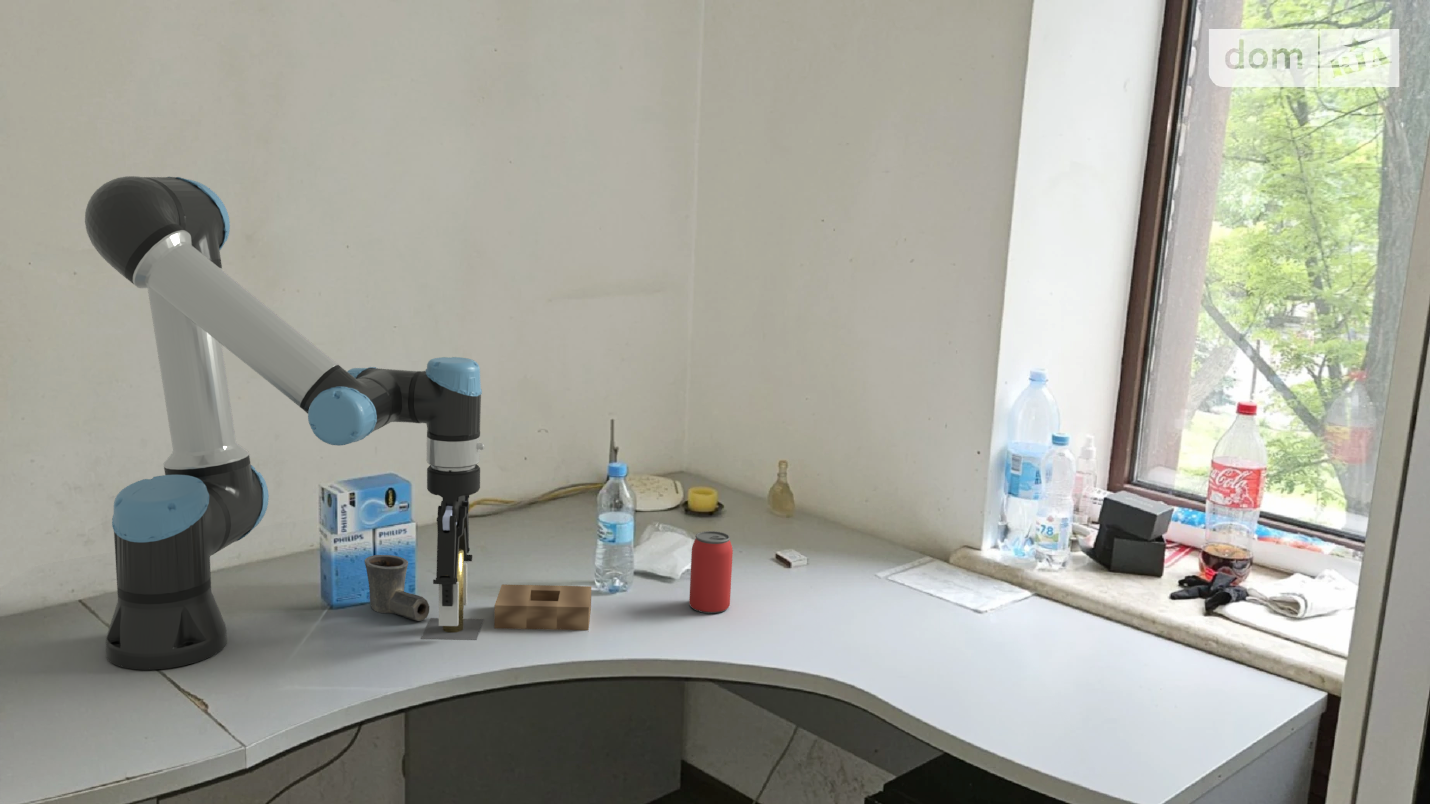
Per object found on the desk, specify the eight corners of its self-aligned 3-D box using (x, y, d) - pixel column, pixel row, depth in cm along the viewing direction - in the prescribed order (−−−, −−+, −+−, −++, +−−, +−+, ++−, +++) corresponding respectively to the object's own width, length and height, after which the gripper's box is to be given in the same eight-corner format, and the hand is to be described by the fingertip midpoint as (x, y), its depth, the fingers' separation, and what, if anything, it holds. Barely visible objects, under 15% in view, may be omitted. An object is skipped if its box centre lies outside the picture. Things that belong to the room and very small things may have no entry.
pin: (441, 632, 166) (441, 554, 164) (444, 624, 169) (444, 548, 167) (461, 632, 166) (461, 555, 164) (464, 625, 169) (465, 548, 167)
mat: (420, 641, 164) (420, 638, 164) (430, 620, 171) (430, 618, 171) (476, 642, 164) (476, 639, 164) (483, 621, 172) (483, 619, 172)
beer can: (729, 615, 179) (733, 543, 177) (688, 613, 179) (691, 541, 177) (729, 601, 186) (733, 531, 183) (690, 598, 186) (693, 528, 183)
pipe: (406, 630, 167) (406, 579, 166) (354, 608, 175) (354, 559, 174) (439, 619, 172) (439, 569, 171) (387, 598, 180) (387, 550, 178)
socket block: (494, 630, 169) (494, 605, 168) (501, 608, 178) (501, 584, 177) (588, 632, 170) (588, 607, 169) (590, 610, 179) (591, 586, 178)
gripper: (469, 483, 153) (468, 642, 158) (489, 449, 173) (487, 590, 178) (413, 482, 153) (413, 641, 157) (439, 448, 173) (439, 589, 177)
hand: (453, 614), depth 167 cm, fingers open, 8 cm apart
